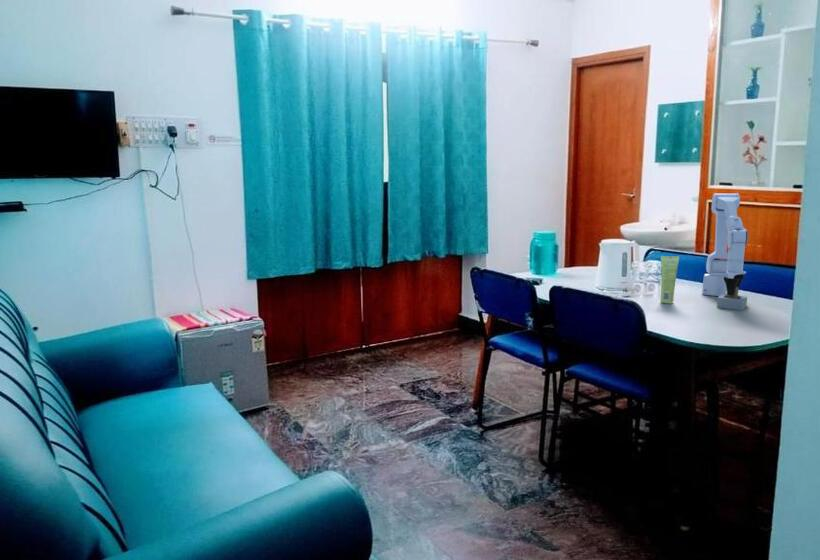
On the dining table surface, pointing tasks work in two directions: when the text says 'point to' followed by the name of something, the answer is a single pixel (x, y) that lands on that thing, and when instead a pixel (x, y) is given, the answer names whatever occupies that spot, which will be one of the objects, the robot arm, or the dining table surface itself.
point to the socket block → (732, 302)
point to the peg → (734, 294)
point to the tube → (668, 277)
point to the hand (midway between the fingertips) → (732, 293)
